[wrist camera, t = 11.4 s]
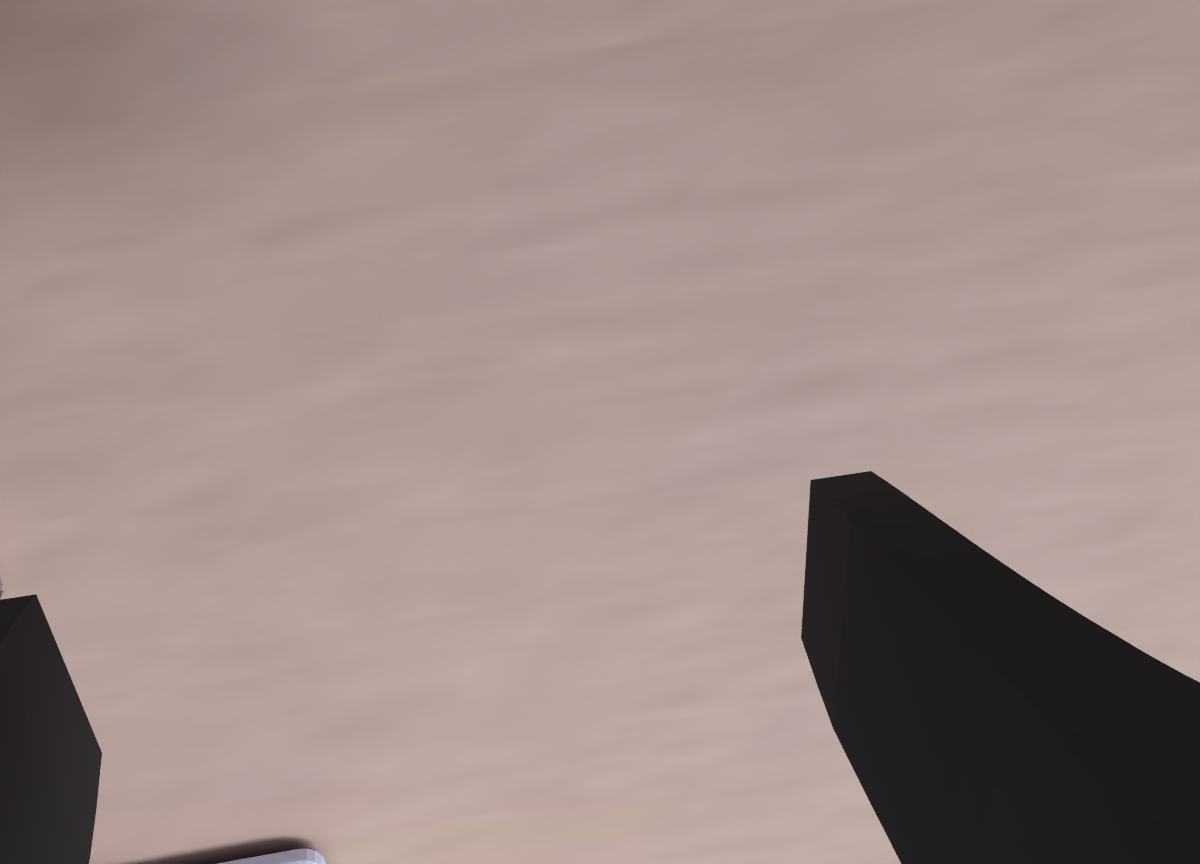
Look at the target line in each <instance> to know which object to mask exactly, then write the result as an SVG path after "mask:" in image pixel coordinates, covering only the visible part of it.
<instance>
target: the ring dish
mask: <svg viewBox="0 0 1200 864" xmlns="http://www.w3.org/2000/svg"><path fill="white" fill-rule="evenodd" d="M2 585H3V584H2V582H1V579H0V599H1V596H2V593H3V591H1V588H2Z"/></svg>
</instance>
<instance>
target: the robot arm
mask: <svg viewBox="0 0 1200 864" xmlns="http://www.w3.org/2000/svg"><path fill="white" fill-rule="evenodd" d="M801 638H802V641H803V644H804V647H805V650H806V653H807V656H808V659H809V662H810V665H811V668H812V670H813V673H814V676H815V679H816V682H817V685H818V688H819V691H820V693H821V696H822V699H823V702H824V704H825V707H826V710H827V712H828V715H829V718H830V721H831V723H832V726H833V729H834V731H835V733H836V735H837V737H838V739H839V741H840V743H841V745H842V747H843V749H844V751H845V753H846V755H847V757H848V759H849V761H850V763H851V765H852V767H853V769H854V771H855V773H856V775H857V777H858V779H859V781H860V783H861V785H862V787H863V789H864V791H865V793H866V795H867V797H868V799H869V801H870V803H871V805H872V807H873V809H874V811H875V813H876V815H877V817H878V819H879V821H880V823H881V824H882V826H883V828H884V830H885V832H886V834H887V836H888V838H889V840H890V842H891V844H892V846H893V848H894V850H895V852H896V854H897V856H898V858H899V860H900V862H901V864H1200V683H1199V682H1197V681H1196V680H1194V679H1192V678H1190V677H1188V676H1186V675H1184V674H1182V673H1180V672H1178V671H1177V670H1175V669H1173V668H1171V667H1169V666H1168V665H1166V664H1164V663H1162V662H1160V661H1159V660H1157V659H1155V658H1153V657H1151V656H1150V655H1148V654H1146V653H1144V652H1143V651H1141V650H1139V649H1138V648H1136V647H1134V646H1133V645H1131V644H1129V643H1128V642H1126V641H1124V640H1123V639H1121V638H1119V637H1118V636H1116V635H1114V634H1113V633H1111V632H1109V631H1107V630H1106V629H1104V628H1102V627H1101V626H1099V625H1097V624H1096V623H1094V622H1092V621H1091V620H1089V619H1087V618H1086V617H1084V616H1082V615H1081V614H1079V613H1078V612H1076V611H1075V610H1073V609H1071V608H1070V607H1068V606H1067V605H1065V604H1064V603H1062V602H1060V601H1059V600H1057V599H1056V598H1054V597H1053V596H1051V595H1049V594H1048V593H1046V592H1045V591H1043V590H1042V589H1040V588H1039V587H1037V586H1036V585H1034V584H1033V583H1031V582H1030V581H1028V580H1027V579H1025V578H1024V577H1022V576H1021V575H1019V574H1018V573H1016V572H1015V571H1013V570H1012V569H1010V568H1009V567H1007V566H1006V565H1004V564H1003V563H1002V562H1000V561H999V560H997V559H996V558H994V557H993V556H991V555H990V554H989V553H987V552H986V551H984V550H983V549H981V548H980V547H978V546H977V545H976V544H974V543H973V542H971V541H970V540H968V539H967V538H966V537H964V536H963V535H961V534H960V533H959V532H957V531H956V530H954V529H953V528H952V527H950V526H949V525H947V524H946V523H944V522H943V521H942V520H940V519H939V518H937V517H936V516H935V515H933V514H932V513H930V512H929V511H928V510H926V509H925V508H923V507H922V506H921V505H919V504H918V503H916V502H915V501H914V500H912V499H911V498H909V497H908V496H907V495H905V494H904V493H902V492H901V491H900V490H898V489H897V488H895V487H894V486H892V485H891V484H889V483H888V482H887V481H885V480H884V479H882V478H881V477H879V476H878V475H876V474H875V473H873V472H871V471H869V472H862V473H856V474H849V475H842V476H835V477H829V478H822V479H815V480H811V485H810V502H809V518H808V535H807V552H806V568H805V585H804V601H803V618H802V634H801ZM101 756H102V752H101V750H100V747H99V745H98V742H97V740H96V738H95V735H94V733H93V730H92V728H91V726H90V723H89V721H88V718H87V716H86V714H85V711H84V709H83V706H82V704H81V701H80V699H79V697H78V694H77V692H76V689H75V687H74V685H73V682H72V680H71V677H70V675H69V673H68V670H67V668H66V665H65V663H64V660H63V658H62V656H61V653H60V651H59V648H58V646H57V644H56V641H55V639H54V636H53V634H52V632H51V629H50V627H49V624H48V622H47V620H46V617H45V615H44V612H43V610H42V607H41V605H40V603H39V600H38V598H37V595H30V596H23V597H16V598H10V599H3V600H0V864H89V859H90V853H91V845H92V838H93V830H94V822H95V815H96V806H97V796H98V786H99V776H100V766H101ZM217 864H326V863H325V859H324V858H323V856H322V855H321V854H320V853H318V852H317V851H315V850H311V849H295V850H290V851H284V852H278V853H273V854H267V855H261V856H256V857H250V858H245V859H239V860H233V861H228V862H222V863H217Z"/></svg>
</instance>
